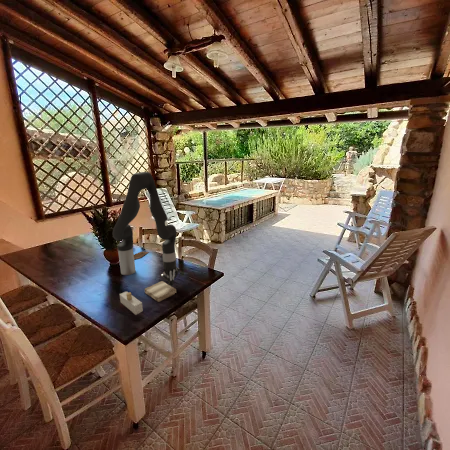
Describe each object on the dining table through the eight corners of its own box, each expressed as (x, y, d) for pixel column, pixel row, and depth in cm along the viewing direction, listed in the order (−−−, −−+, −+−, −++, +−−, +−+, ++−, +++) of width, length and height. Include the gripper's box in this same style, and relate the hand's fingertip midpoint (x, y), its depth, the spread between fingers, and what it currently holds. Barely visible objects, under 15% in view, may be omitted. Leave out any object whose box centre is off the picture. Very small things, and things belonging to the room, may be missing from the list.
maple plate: (144, 293, 145) (144, 288, 145) (162, 285, 154) (162, 281, 153) (158, 302, 136) (158, 298, 136) (176, 293, 145) (176, 289, 144)
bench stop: (120, 302, 136) (118, 289, 134) (127, 299, 139) (126, 286, 137) (135, 314, 126) (133, 300, 123) (142, 311, 129) (141, 297, 126)
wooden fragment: (144, 250, 206) (144, 249, 206) (152, 254, 199) (152, 253, 199) (114, 261, 187) (114, 260, 187) (122, 265, 180) (122, 264, 180)
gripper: (174, 253, 152) (176, 279, 157) (155, 260, 143) (158, 287, 148) (182, 257, 147) (184, 283, 152) (163, 264, 138) (165, 292, 143)
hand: (171, 285), depth 150 cm, fingers closed
